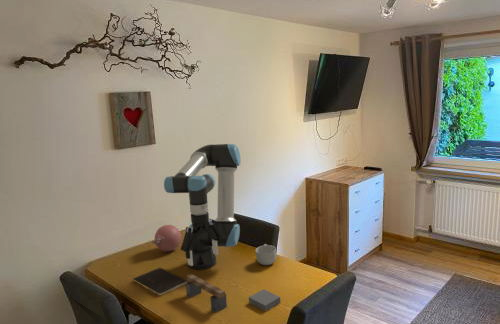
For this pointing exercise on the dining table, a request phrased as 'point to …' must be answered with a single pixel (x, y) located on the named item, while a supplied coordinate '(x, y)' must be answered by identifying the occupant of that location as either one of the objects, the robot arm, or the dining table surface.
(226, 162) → the robot arm
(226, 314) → the dining table surface
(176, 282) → the hardcover book
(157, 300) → the dining table surface
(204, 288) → the walnut stick
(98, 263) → the dining table surface
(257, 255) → the teacup
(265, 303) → the tile
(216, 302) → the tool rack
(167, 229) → the balloon
